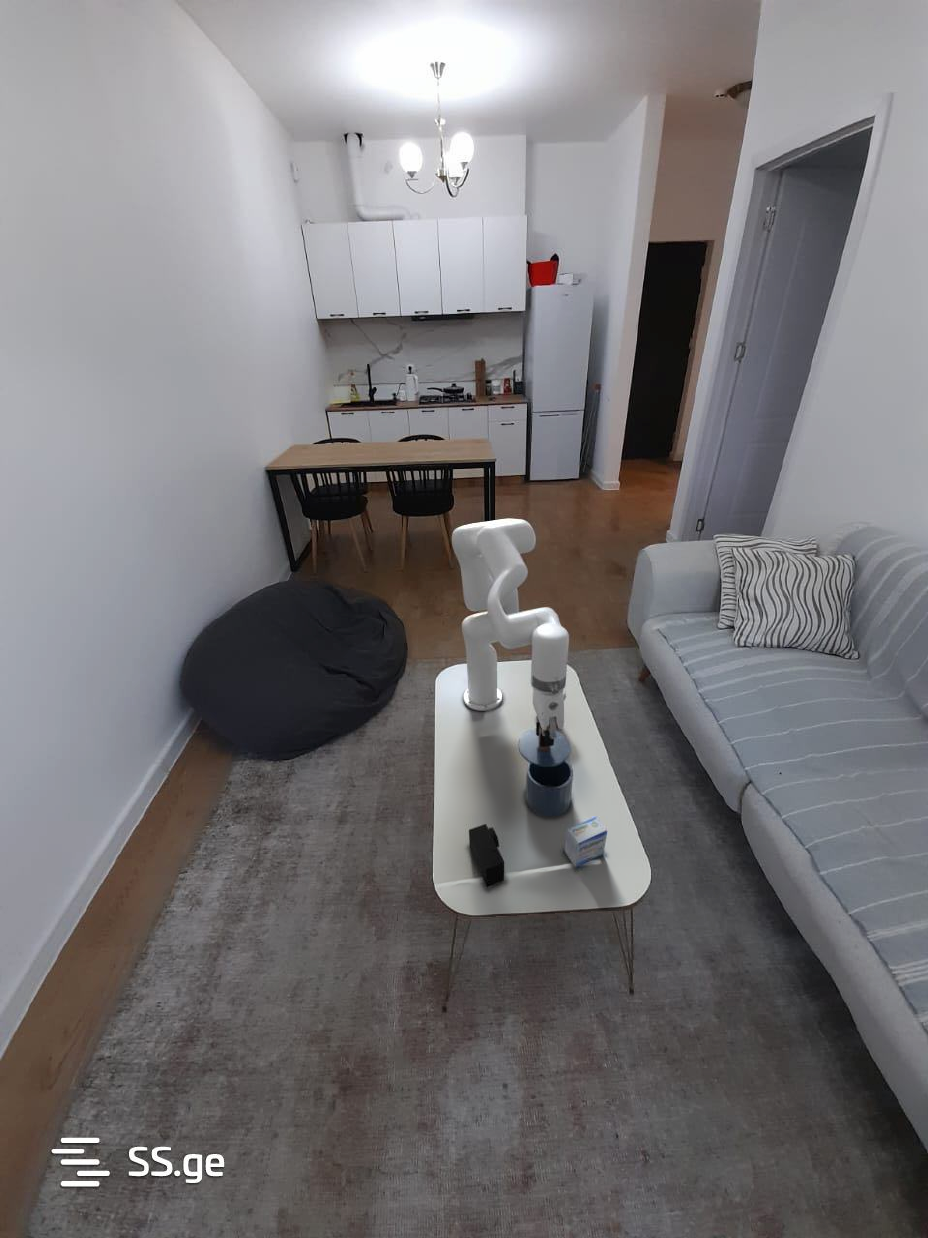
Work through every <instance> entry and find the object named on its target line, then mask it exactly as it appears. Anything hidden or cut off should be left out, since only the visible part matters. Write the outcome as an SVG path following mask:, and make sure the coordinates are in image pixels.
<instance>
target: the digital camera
mask: <svg viewBox="0 0 928 1238" xmlns="http://www.w3.org/2000/svg"><path fill="white" fill-rule="evenodd" d="M468 840H469V849H470V851H471V853H472V856H473V858H474V861H475V863H476V866H477V868H478V870H479V873H480V874H481V878H482V881H483V884H485V887H486V889H487V888H490V887H492V886H493V887H494V886H496V885H498V884H500V883H503V882H504V881H505V861H504V858H503V857H502V855H501V852H500V850H499V847H500V841H499V838H498V835H497V832H496V830H495V828H494V827H493V826H492V827H488V825H487V823H484V824H482V825H478V826H475V827H472V828H470V829H468Z"/></svg>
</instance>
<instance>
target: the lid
mask: <svg viewBox="0 0 928 1238" xmlns="http://www.w3.org/2000/svg"><path fill="white" fill-rule="evenodd" d="M547 730H549V728H546V731H547ZM540 733H542V727H541V725H540V726H539V736H537V735H536V727H534V728H532V729H529V730H527V731H525V732H524V733H523V734H522V735H521V736H520V738H519V740H518V752H519V754H520V755H521V757H522V758H523V759H524V760H525V761H526V762H527V763H531V764H533V765H536V766H540V767H553V766H557V765H560V764H561V763H563V762H564V761H566V760H568V759H569V756H570V754H571V745H570V742H569V740H568V738H567V737H566V736H565V735H564V734H563V733H561V732H560V731H558V730H556V736H557V738H554V745H553V746H547V747H540Z"/></svg>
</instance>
